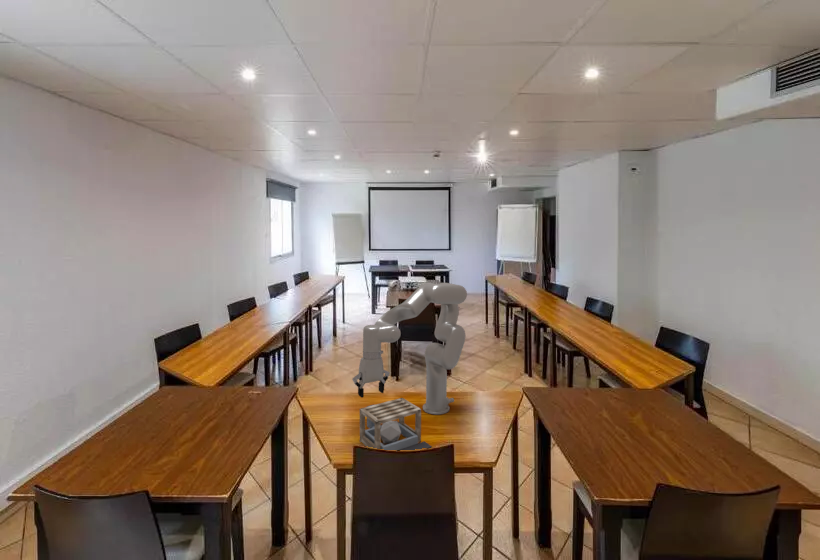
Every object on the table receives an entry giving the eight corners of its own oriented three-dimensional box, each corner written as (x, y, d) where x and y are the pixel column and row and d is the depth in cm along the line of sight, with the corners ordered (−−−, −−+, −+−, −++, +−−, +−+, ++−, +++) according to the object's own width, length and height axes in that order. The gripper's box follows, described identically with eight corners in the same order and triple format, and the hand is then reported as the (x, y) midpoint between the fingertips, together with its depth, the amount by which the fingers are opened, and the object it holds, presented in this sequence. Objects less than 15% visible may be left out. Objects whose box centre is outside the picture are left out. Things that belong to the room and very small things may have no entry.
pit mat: (424, 442, 168) (424, 441, 168) (431, 447, 164) (431, 446, 164) (399, 450, 161) (399, 449, 161) (406, 456, 157) (406, 455, 157)
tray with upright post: (386, 420, 186) (386, 401, 185) (418, 443, 166) (418, 422, 165) (353, 430, 177) (353, 409, 176) (383, 455, 158) (383, 432, 156)
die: (392, 451, 162) (406, 428, 164) (373, 438, 163) (387, 415, 166) (393, 448, 171) (406, 426, 173) (374, 436, 172) (387, 414, 174)
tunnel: (402, 428, 180) (402, 397, 178) (420, 441, 169) (421, 409, 167) (359, 441, 168) (359, 408, 167) (376, 456, 157) (376, 421, 156)
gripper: (384, 349, 184) (384, 387, 186) (349, 355, 175) (348, 395, 177) (394, 354, 178) (393, 393, 180) (357, 360, 169) (356, 401, 170)
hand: (371, 394), depth 178 cm, fingers open, 9 cm apart
